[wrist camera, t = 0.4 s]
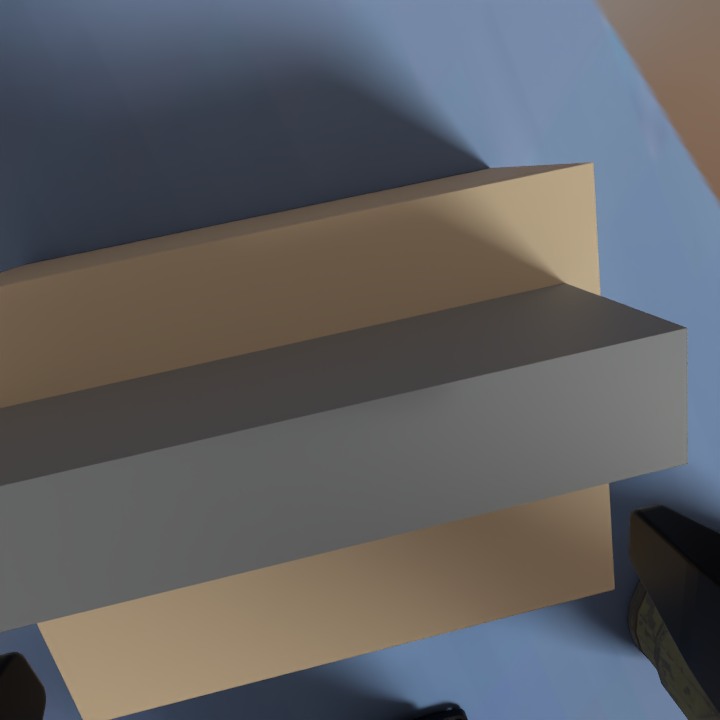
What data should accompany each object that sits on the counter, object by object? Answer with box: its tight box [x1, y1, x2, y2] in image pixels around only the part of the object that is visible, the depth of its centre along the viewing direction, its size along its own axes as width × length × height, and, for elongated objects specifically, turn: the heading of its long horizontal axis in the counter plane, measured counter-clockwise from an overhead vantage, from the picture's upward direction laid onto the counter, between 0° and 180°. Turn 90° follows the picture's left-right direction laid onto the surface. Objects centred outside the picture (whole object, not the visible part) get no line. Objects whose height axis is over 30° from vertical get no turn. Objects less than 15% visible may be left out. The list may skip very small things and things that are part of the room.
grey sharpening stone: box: [0, 163, 688, 632], centre depth 13 cm, size 7×18×6 cm, turn 101°
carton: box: [0, 163, 615, 720], centre depth 20 cm, size 14×18×8 cm
